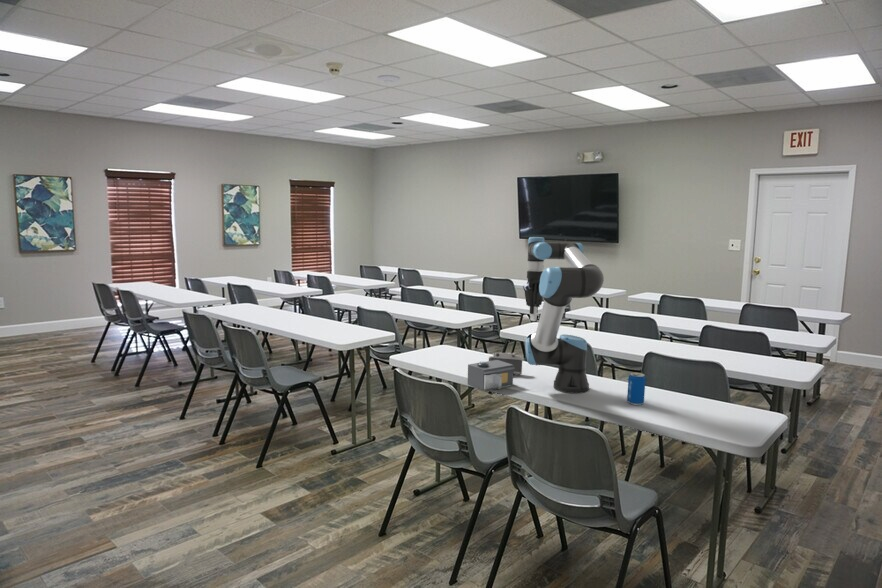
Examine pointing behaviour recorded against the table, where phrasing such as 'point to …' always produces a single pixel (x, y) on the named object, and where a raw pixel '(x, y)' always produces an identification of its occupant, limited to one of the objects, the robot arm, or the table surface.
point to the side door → (493, 381)
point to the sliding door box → (490, 367)
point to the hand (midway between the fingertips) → (533, 320)
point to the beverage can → (636, 388)
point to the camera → (509, 360)
